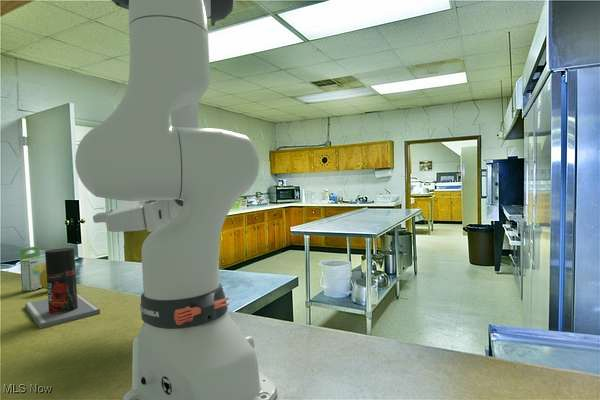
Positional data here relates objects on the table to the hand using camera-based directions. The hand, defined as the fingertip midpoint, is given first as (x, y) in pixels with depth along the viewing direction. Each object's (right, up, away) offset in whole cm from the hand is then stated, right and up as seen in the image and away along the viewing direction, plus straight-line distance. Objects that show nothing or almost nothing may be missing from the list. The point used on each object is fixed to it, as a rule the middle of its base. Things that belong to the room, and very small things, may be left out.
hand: (94, 218), depth 80 cm
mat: (-14, -24, +8) cm, 29 cm away
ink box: (-37, -24, +30) cm, 54 cm away
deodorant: (-11, -23, +5) cm, 26 cm away
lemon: (-29, -24, +27) cm, 47 cm away
